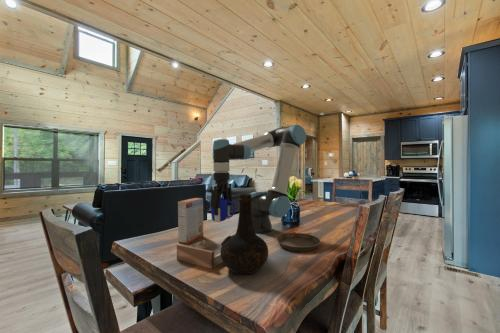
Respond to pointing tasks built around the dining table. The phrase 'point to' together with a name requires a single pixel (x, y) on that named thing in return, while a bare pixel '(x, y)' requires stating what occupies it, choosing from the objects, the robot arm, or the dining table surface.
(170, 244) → the dining table surface
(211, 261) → the channel
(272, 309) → the dining table surface
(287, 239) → the plant saucer
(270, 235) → the dining table surface
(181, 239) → the cracker box
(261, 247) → the dark brown vase
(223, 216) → the mug
